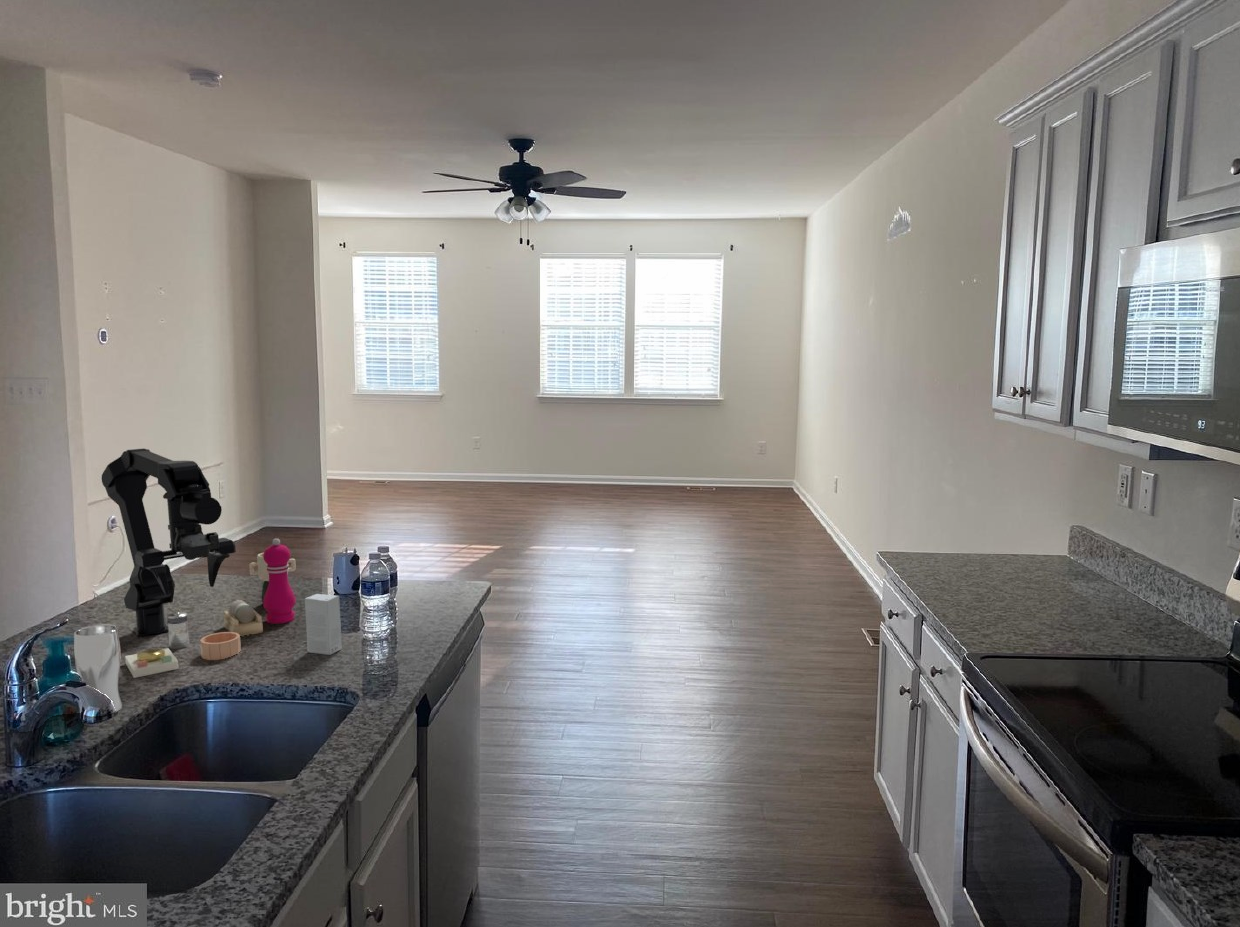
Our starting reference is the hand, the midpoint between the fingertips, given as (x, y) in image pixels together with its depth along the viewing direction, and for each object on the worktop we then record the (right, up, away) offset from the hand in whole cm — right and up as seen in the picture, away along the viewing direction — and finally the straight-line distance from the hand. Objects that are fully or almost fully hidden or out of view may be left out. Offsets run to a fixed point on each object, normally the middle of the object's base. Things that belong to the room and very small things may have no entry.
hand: (189, 590), depth 184 cm
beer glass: (0, -17, -31) cm, 36 cm away
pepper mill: (+12, -10, +20) cm, 25 cm away
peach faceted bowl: (+8, -13, -3) cm, 16 cm away
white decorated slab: (-3, -14, -10) cm, 17 cm away
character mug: (+5, -9, +34) cm, 35 cm away
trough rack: (+6, -11, +13) cm, 18 cm away
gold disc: (-3, -12, -10) cm, 16 cm away
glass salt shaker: (-3, -12, +2) cm, 13 cm away
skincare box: (+30, -13, -1) cm, 32 cm away
